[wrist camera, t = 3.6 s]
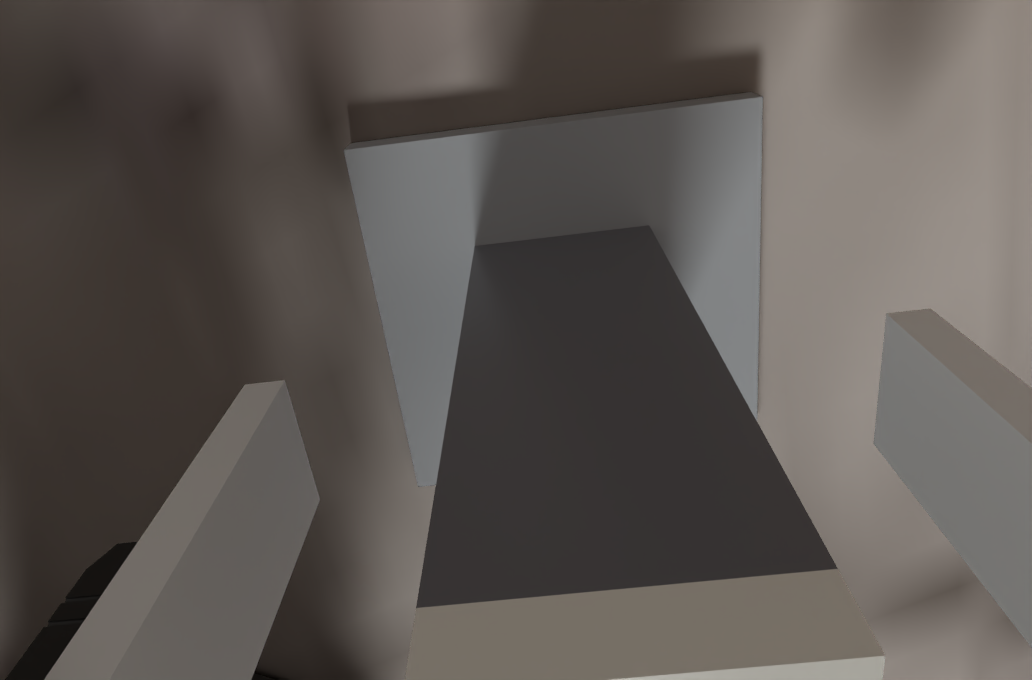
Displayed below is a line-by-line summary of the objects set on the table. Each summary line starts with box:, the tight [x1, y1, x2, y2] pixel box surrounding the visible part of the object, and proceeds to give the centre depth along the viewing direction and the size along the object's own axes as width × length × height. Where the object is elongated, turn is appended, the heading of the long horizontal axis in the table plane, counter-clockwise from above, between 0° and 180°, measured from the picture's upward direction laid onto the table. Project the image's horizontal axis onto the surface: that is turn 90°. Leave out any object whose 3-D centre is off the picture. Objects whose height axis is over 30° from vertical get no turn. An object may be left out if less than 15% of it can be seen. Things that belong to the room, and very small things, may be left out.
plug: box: [405, 225, 885, 680], centre depth 12 cm, size 4×4×12 cm
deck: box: [344, 92, 763, 487], centre depth 18 cm, size 9×9×1 cm
